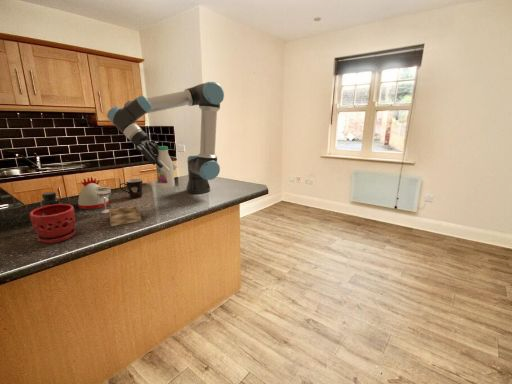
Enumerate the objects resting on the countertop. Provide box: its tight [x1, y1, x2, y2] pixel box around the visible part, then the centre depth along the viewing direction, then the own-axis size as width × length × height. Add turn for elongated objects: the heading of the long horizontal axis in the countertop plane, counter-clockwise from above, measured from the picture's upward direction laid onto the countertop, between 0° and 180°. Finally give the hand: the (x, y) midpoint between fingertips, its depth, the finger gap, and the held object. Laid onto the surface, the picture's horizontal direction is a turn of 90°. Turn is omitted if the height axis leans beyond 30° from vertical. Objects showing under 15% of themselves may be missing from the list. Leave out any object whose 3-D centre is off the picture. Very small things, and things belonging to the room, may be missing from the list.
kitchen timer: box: [77, 176, 110, 210], centre depth 135 cm, size 14×14×15 cm
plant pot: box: [29, 203, 77, 244], centre depth 96 cm, size 13×13×12 cm
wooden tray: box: [108, 205, 142, 227], centre depth 117 cm, size 12×12×4 cm
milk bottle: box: [155, 145, 176, 190], centre depth 123 cm, size 8×8×20 cm
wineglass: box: [95, 185, 112, 214], centre depth 125 cm, size 7×7×12 cm
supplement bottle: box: [40, 191, 61, 216], centre depth 115 cm, size 7×7×12 cm
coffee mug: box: [119, 178, 143, 200], centre depth 150 cm, size 12×9×10 cm
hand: (171, 170), depth 123 cm, fingers closed on milk bottle, 7 cm apart
